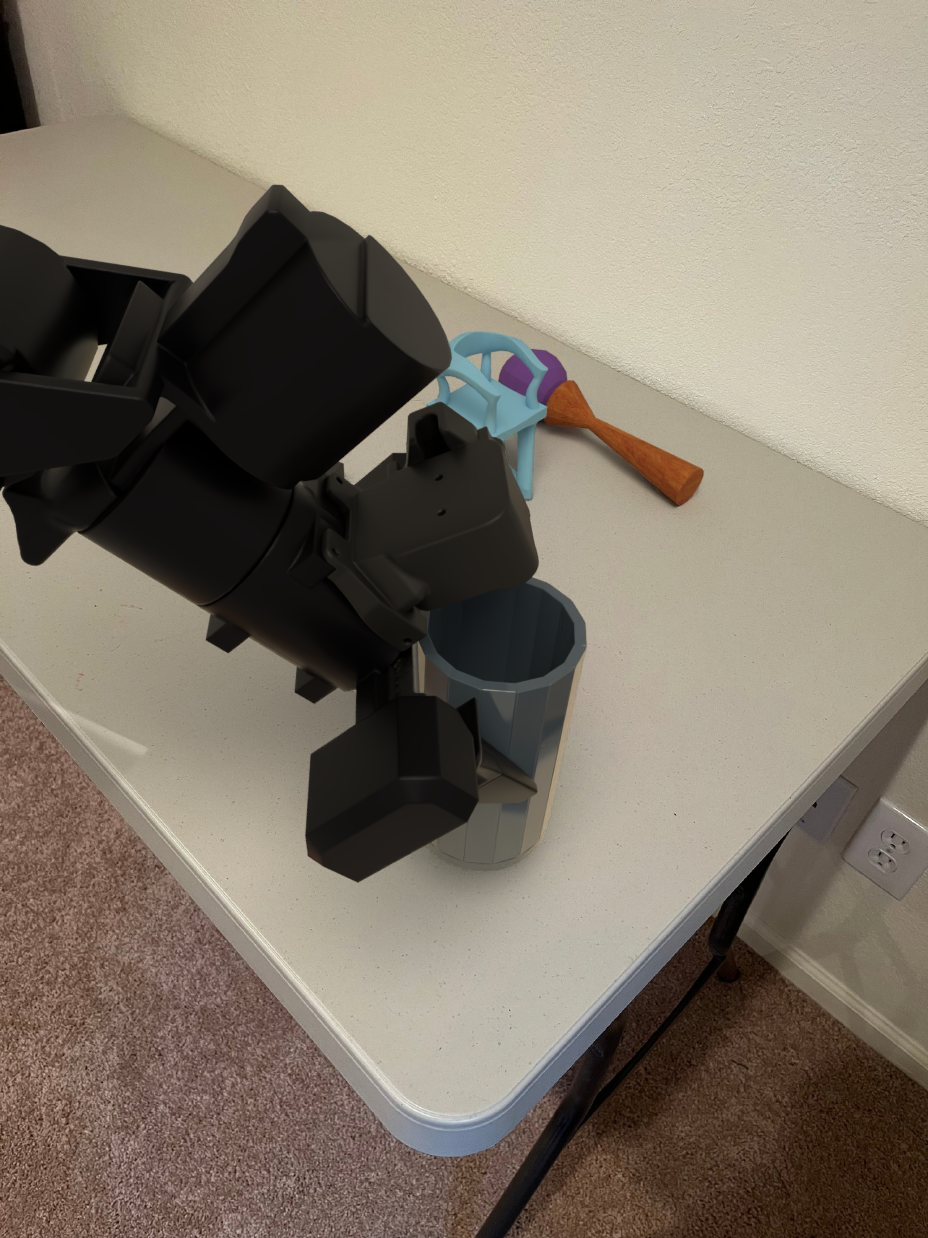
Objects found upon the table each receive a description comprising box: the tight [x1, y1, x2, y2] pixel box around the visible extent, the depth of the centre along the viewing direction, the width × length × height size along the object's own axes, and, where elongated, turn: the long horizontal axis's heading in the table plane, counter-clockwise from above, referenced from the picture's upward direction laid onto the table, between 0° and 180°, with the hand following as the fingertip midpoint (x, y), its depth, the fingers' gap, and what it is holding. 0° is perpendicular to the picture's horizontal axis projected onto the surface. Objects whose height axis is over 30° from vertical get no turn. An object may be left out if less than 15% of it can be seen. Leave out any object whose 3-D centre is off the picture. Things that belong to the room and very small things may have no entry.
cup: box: [418, 576, 588, 873], centre depth 41 cm, size 7×7×13 cm
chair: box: [425, 330, 548, 501], centre depth 69 cm, size 8×8×12 cm
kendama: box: [497, 348, 705, 506], centre depth 76 cm, size 6×6×20 cm
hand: (520, 727), depth 41 cm, fingers closed on cup, 7 cm apart
